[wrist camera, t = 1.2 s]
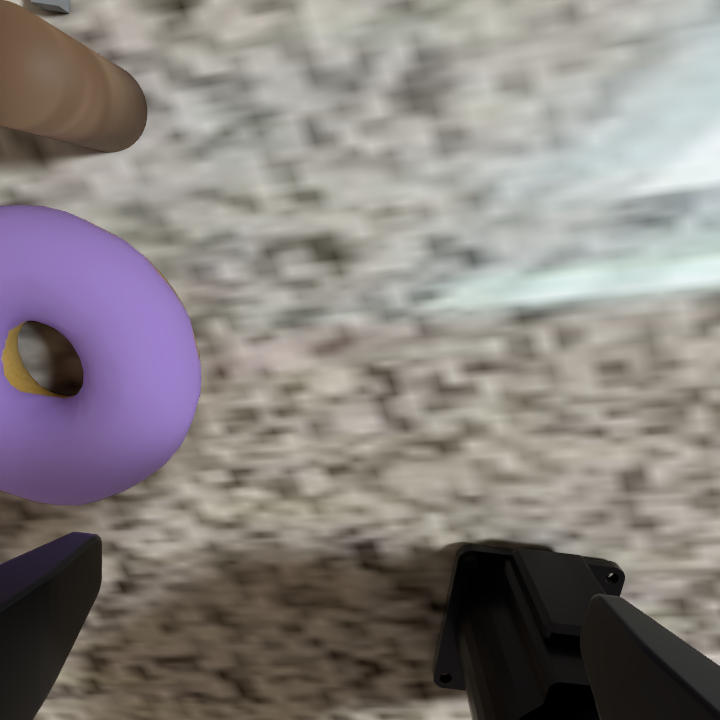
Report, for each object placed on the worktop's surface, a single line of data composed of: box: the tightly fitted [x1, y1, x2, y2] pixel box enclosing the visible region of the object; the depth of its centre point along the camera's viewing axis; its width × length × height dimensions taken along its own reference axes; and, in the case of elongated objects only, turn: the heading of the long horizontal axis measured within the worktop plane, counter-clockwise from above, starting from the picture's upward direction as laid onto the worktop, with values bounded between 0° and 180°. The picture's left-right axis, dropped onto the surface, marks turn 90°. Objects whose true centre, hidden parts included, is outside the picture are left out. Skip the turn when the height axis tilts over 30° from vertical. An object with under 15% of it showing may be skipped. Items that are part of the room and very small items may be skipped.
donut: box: [0, 205, 201, 505], centre depth 17 cm, size 10×9×5 cm
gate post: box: [0, 0, 147, 152], centre depth 14 cm, size 3×3×5 cm
